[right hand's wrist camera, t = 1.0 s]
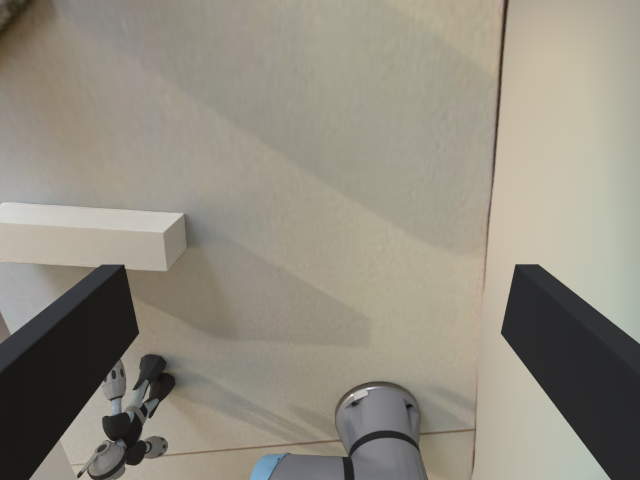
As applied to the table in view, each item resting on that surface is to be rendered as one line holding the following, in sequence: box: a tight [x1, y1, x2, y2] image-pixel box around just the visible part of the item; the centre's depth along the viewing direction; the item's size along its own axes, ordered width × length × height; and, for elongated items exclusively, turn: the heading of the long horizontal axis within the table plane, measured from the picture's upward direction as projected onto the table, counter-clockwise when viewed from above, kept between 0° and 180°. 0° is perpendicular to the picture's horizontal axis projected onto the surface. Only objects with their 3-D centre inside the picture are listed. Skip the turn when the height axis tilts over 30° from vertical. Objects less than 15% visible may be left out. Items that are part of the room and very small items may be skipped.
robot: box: [77, 355, 175, 480], centre depth 55 cm, size 20×5×20 cm, turn 14°
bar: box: [0, 202, 187, 272], centre depth 51 cm, size 25×6×8 cm, turn 86°
